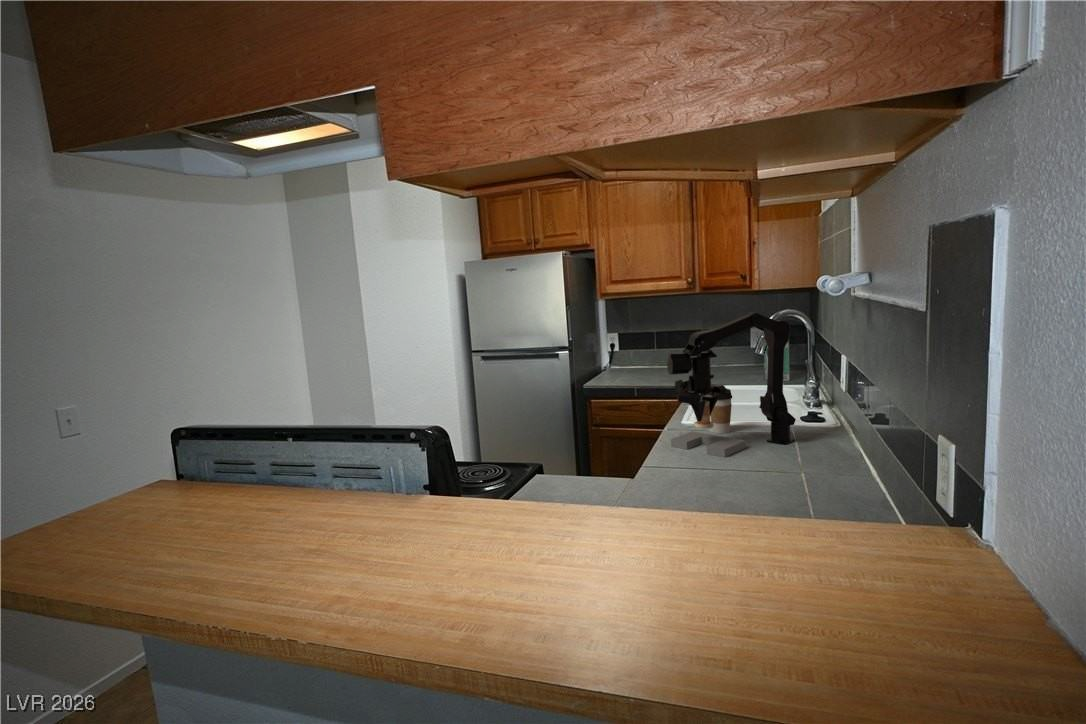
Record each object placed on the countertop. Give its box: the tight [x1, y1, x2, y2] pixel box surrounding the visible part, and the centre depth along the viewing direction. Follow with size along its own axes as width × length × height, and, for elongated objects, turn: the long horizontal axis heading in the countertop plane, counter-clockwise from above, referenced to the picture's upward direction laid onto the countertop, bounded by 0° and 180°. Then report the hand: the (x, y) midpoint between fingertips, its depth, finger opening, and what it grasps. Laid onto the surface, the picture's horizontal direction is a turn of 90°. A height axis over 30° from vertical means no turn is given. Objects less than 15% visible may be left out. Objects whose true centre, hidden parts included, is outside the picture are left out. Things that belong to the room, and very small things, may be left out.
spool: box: [693, 400, 713, 429], centre depth 178 cm, size 6×6×8 cm
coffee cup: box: [710, 388, 733, 435], centre depth 198 cm, size 8×8×15 cm
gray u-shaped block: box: [670, 431, 747, 458], centre depth 181 cm, size 12×20×2 cm, turn 40°
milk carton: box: [763, 339, 791, 382], centre depth 285 cm, size 9×9×25 cm
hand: (703, 419), depth 179 cm, fingers closed on spool, 4 cm apart
